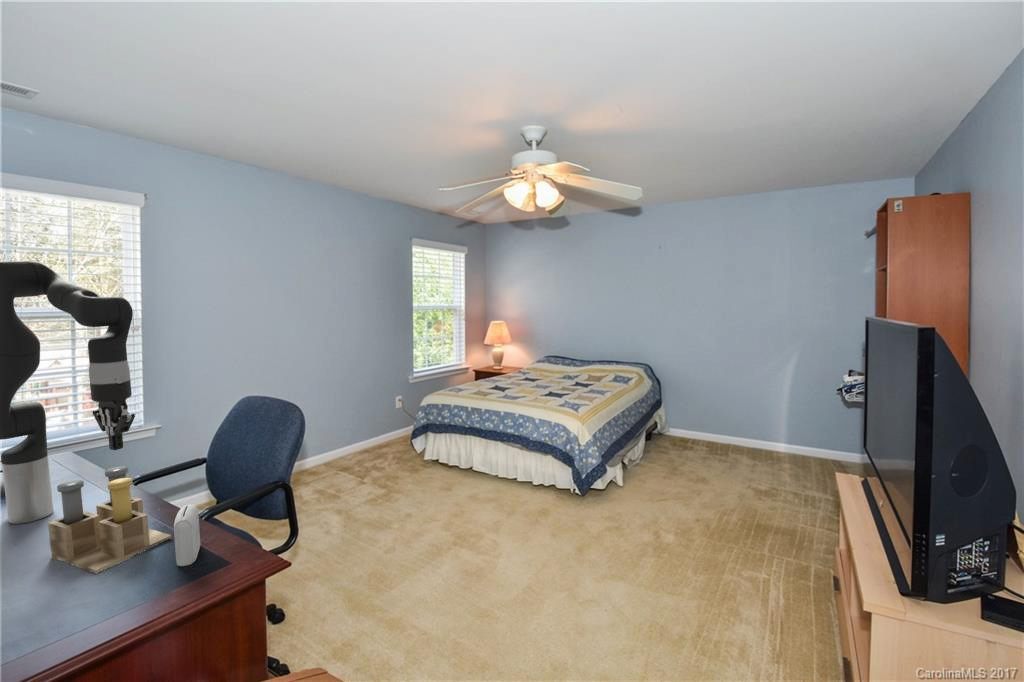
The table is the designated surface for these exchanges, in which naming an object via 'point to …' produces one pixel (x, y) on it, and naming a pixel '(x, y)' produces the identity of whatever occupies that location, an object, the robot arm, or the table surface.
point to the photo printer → (187, 535)
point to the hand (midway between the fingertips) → (116, 448)
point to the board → (103, 537)
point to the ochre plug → (121, 499)
